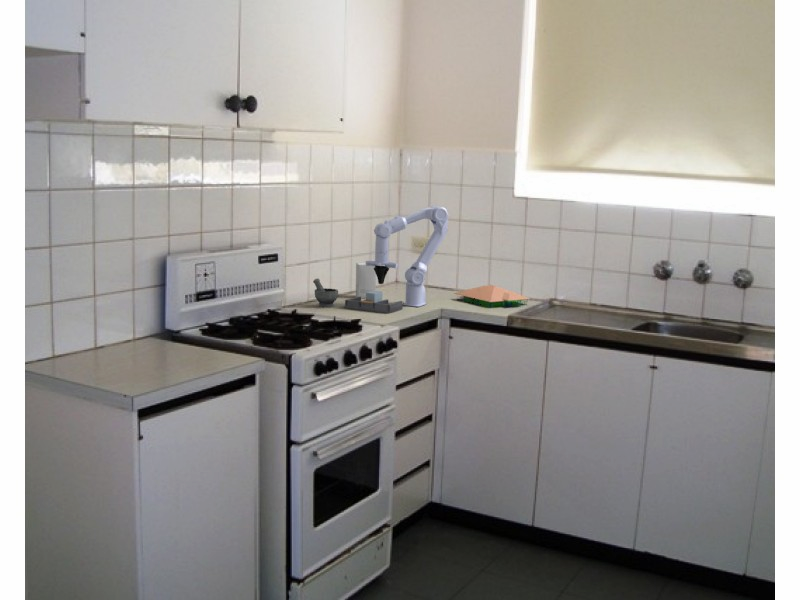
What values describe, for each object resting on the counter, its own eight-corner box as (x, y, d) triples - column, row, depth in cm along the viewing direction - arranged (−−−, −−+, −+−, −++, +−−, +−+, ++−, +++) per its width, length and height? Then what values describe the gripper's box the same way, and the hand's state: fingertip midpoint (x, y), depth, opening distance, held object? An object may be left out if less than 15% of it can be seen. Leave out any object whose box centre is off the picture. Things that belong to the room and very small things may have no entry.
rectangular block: (373, 304, 355) (373, 290, 354) (381, 305, 354) (382, 291, 353) (365, 307, 349) (366, 292, 348) (374, 308, 347) (374, 293, 347)
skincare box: (372, 296, 386) (373, 262, 383) (376, 298, 379) (377, 264, 377) (354, 296, 383) (355, 262, 381) (358, 298, 377) (358, 264, 375)
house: (494, 310, 360) (495, 291, 359) (447, 298, 387) (448, 281, 386) (534, 306, 373) (535, 288, 372) (486, 296, 400) (487, 279, 399)
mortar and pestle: (329, 303, 361) (330, 275, 359) (342, 307, 353) (342, 278, 352) (307, 305, 354) (307, 277, 352) (319, 309, 347) (319, 280, 345)
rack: (358, 304, 361) (358, 295, 361) (402, 309, 352) (402, 300, 352) (344, 308, 351) (344, 298, 350) (389, 313, 342) (389, 304, 341)
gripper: (362, 251, 356) (361, 283, 358) (393, 253, 350) (392, 286, 352) (370, 250, 362) (369, 281, 364) (400, 252, 356) (399, 284, 358)
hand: (381, 283), depth 359 cm, fingers closed
